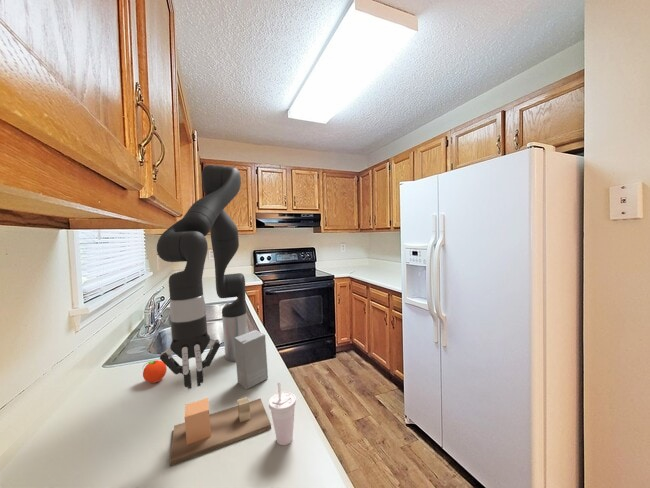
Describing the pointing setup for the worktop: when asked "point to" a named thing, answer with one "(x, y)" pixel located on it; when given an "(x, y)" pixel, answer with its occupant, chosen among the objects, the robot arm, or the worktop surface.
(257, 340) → the skincare box
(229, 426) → the post board
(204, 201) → the robot arm
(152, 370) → the tomato
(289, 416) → the smoothie
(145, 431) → the worktop surface
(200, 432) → the light orange block
